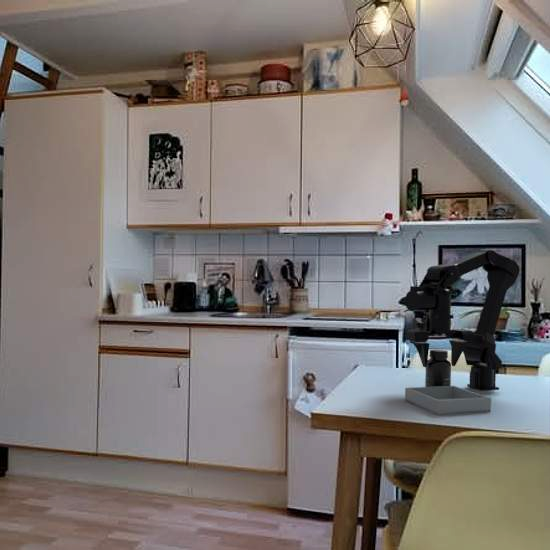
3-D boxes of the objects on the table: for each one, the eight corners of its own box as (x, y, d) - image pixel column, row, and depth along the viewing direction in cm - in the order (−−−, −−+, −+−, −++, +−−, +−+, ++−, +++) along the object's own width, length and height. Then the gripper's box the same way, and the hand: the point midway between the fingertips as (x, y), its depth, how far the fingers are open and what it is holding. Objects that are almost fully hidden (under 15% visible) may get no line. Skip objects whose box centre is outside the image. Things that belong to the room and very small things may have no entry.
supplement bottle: (452, 396, 141) (452, 352, 142) (426, 395, 143) (426, 351, 143) (448, 391, 148) (449, 349, 148) (424, 390, 150) (424, 348, 150)
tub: (453, 398, 139) (454, 385, 139) (490, 412, 125) (490, 398, 125) (405, 401, 135) (405, 387, 135) (437, 415, 121) (437, 400, 121)
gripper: (451, 308, 156) (450, 361, 156) (395, 309, 151) (394, 362, 151) (475, 311, 145) (474, 367, 145) (416, 311, 140) (415, 369, 140)
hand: (439, 366), depth 145 cm, fingers open, 9 cm apart
